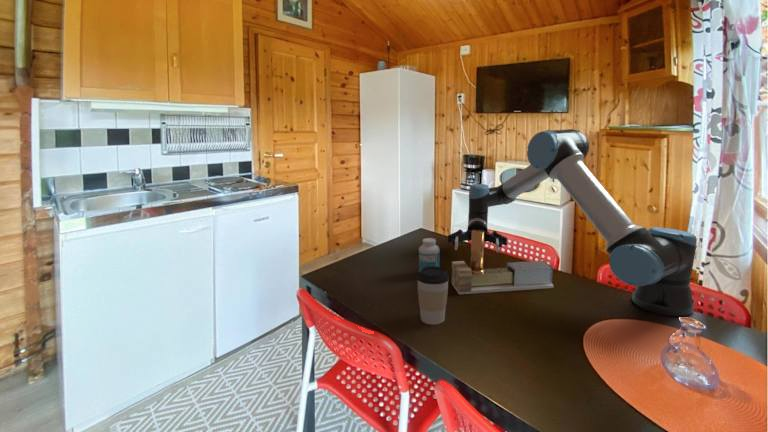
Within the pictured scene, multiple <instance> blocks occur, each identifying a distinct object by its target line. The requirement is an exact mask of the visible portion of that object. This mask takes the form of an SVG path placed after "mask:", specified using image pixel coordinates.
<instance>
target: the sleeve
mask: <svg viewBox="0 0 768 432" xmlns="http://www.w3.org/2000/svg"><path fill="white" fill-rule="evenodd" d="M506 268H511V269H512V270H513V271H514V282H513V285H514V286H526V285H540V284H553V275H554V267H553V266H552V265H550V264H549V263H547V262H546V261H545V260H532V261H531V260H530V261H529V260H527V261H517V262H516V261H515V262H507V263H506Z"/></svg>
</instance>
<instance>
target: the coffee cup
mask: <svg viewBox="0 0 768 432" xmlns="http://www.w3.org/2000/svg"><path fill="white" fill-rule="evenodd" d="M416 280H417V295H418V306H419V312H420V321H421V322H423V323H424V324H426V325H440V324H441V323H444V322H445V319H446V308H447V300H448V292H449V280H450V277H449V273H448V272H447V271H446V270H445V269H444V268H443V267H434V266H431V267H425V268H423V269H422V270H421V271H420V272H419V271H418V273H417V275H416Z"/></svg>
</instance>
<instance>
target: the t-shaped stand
mask: <svg viewBox="0 0 768 432" xmlns="http://www.w3.org/2000/svg"><path fill="white" fill-rule="evenodd" d="M470 241H471V242H470V243H471V244H470V267H469V268H470V269H471V270H472V282H471V286H480V285H495V284H510V283H513V282H514V271H513V270H512V269H511V268H507V267H499V268H484V252H485V251H484V250H485V247H484V245H485V241H484V231H482V230H472V236H471V240H470Z"/></svg>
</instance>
